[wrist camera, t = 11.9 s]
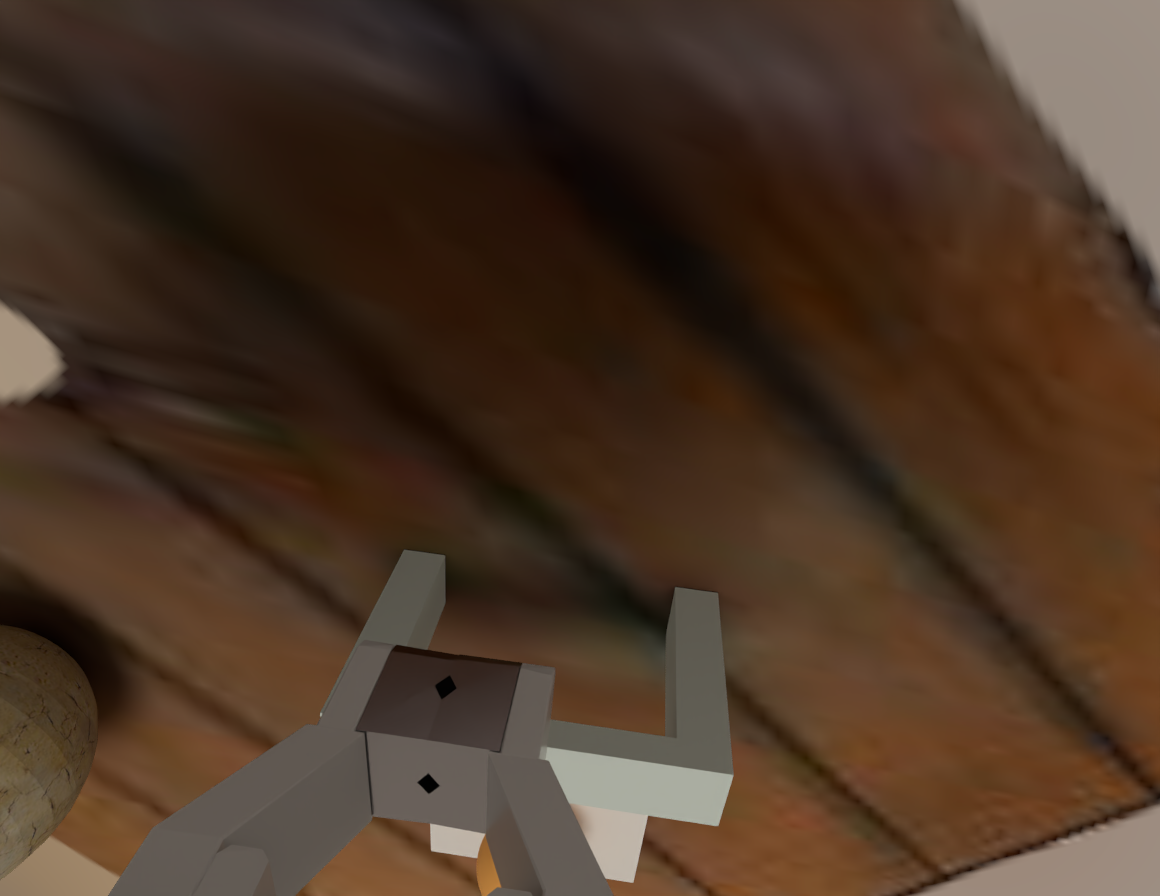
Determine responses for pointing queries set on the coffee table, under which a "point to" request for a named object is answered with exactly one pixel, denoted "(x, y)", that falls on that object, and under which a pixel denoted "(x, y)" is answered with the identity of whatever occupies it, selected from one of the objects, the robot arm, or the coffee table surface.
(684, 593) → the bridge
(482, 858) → the ball
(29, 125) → the coffee table surface
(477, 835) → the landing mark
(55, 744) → the fossilized egg
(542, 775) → the robot arm
